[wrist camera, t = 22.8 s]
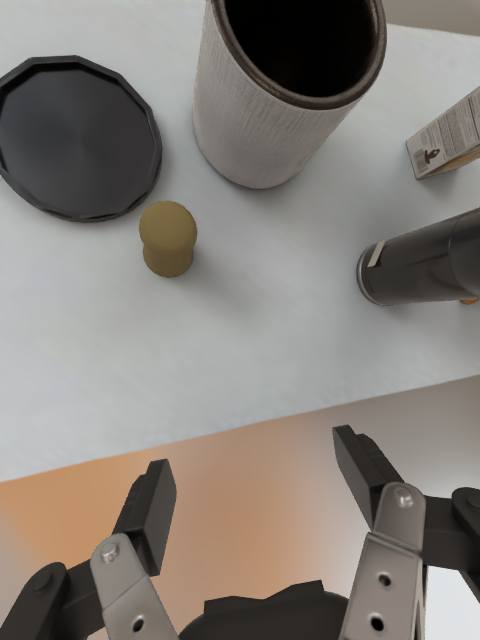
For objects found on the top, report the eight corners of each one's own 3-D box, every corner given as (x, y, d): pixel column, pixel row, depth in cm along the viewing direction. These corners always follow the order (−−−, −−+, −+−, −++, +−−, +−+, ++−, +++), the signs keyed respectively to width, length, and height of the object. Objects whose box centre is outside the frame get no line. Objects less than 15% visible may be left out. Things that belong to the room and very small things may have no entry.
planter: (279, 58, 39) (350, -105, 24) (323, 172, 41) (414, 86, 26) (169, 85, 36) (171, -86, 20) (222, 209, 37) (259, 134, 22)
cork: (135, 236, 35) (121, 199, 24) (183, 223, 36) (190, 182, 25) (153, 283, 35) (146, 268, 25) (199, 269, 37) (213, 248, 26)
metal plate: (138, 60, 35) (137, 49, 33) (179, 207, 36) (180, 203, 35) (-35, 69, 30) (-44, 58, 29) (19, 236, 32) (12, 233, 30)
